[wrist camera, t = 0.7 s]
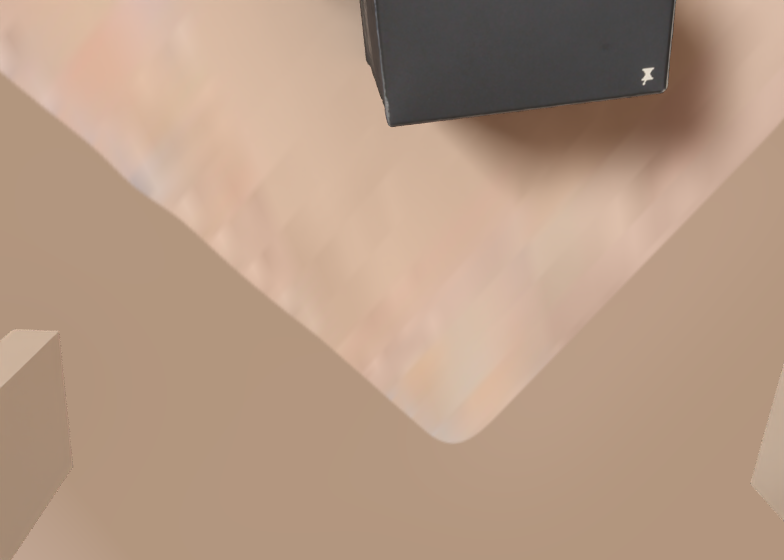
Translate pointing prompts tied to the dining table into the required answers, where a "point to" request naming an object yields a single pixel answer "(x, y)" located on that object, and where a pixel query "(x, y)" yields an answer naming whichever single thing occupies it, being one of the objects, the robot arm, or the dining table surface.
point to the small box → (512, 54)
